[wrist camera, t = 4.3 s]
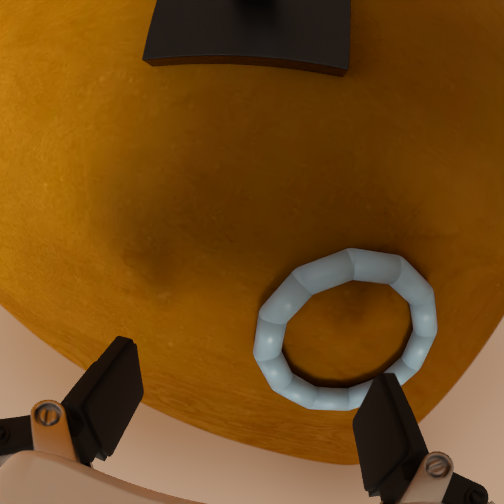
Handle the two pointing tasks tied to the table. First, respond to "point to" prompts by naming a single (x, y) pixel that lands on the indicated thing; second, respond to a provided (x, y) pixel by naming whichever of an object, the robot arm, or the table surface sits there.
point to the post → (252, 34)
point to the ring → (322, 278)
